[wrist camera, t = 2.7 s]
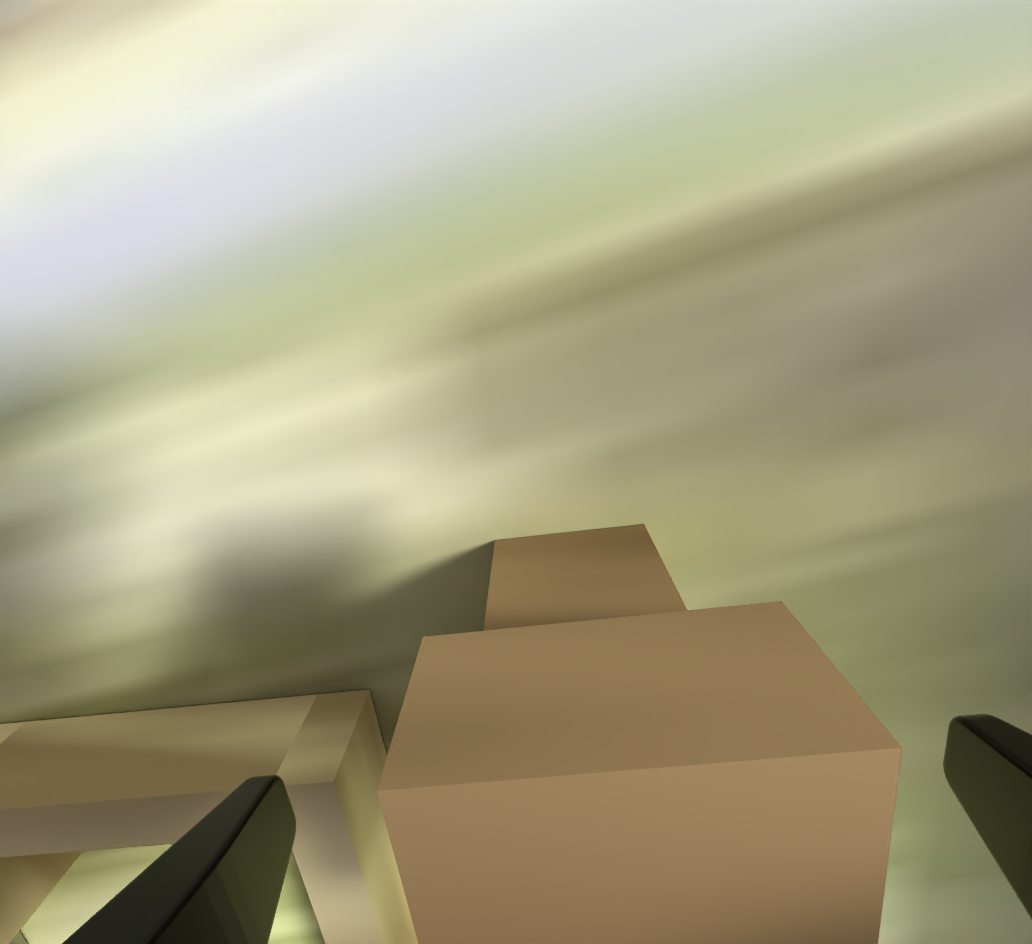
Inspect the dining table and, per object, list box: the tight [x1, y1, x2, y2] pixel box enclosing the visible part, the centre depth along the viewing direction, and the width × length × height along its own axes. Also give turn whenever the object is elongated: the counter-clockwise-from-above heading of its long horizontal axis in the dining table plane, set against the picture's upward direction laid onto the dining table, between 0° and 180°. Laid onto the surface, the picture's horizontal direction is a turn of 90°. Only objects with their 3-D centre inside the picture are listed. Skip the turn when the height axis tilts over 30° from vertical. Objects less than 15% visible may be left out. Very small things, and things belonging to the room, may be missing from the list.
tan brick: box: [377, 524, 902, 944], centre depth 8 cm, size 7×3×8 cm, turn 7°
